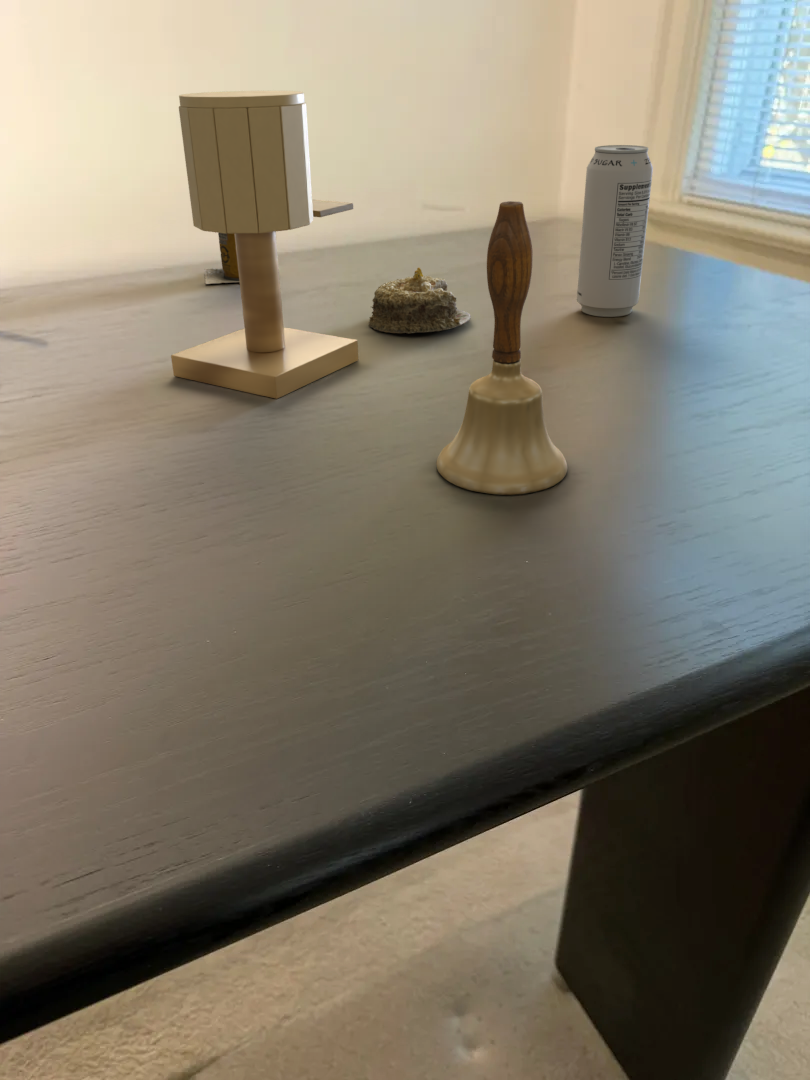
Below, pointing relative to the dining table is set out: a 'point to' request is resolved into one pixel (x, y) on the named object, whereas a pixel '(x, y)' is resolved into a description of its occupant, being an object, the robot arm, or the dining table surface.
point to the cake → (415, 306)
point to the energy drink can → (614, 229)
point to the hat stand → (263, 336)
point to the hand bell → (505, 386)
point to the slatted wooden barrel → (249, 162)
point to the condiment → (225, 262)
